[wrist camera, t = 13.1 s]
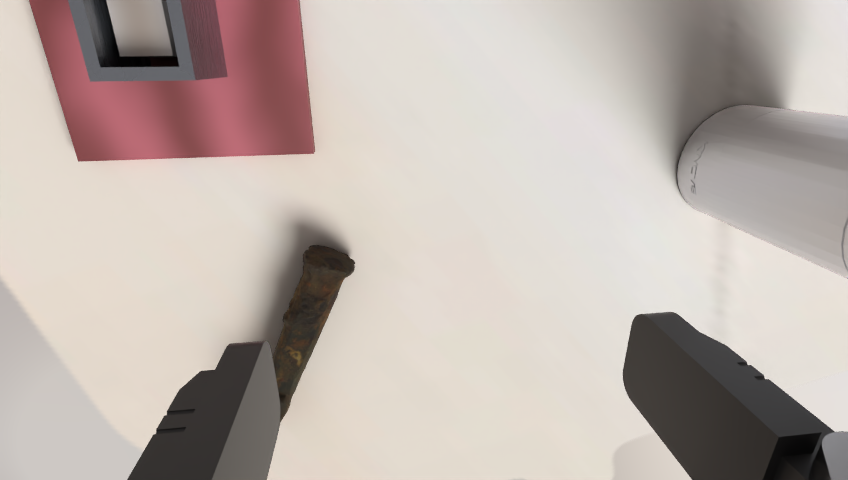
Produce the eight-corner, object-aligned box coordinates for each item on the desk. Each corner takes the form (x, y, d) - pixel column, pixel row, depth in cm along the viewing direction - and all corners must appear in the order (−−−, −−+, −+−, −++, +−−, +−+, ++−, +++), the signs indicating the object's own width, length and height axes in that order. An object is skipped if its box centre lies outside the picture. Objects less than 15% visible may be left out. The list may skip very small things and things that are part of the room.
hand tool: (311, 235, 36) (302, 259, 32) (357, 254, 37) (354, 279, 33) (235, 407, 41) (219, 447, 37) (277, 419, 42) (266, 459, 38)
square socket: (212, -15, 28) (174, -34, 22) (227, 76, 30) (195, 80, 24) (121, -16, 27) (58, -36, 22) (142, 77, 29) (89, 81, 24)
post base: (287, -110, 27) (269, -150, 22) (315, 151, 33) (305, 166, 28) (4, -117, 26) (-86, -162, 21) (86, 158, 32) (32, 176, 27)
